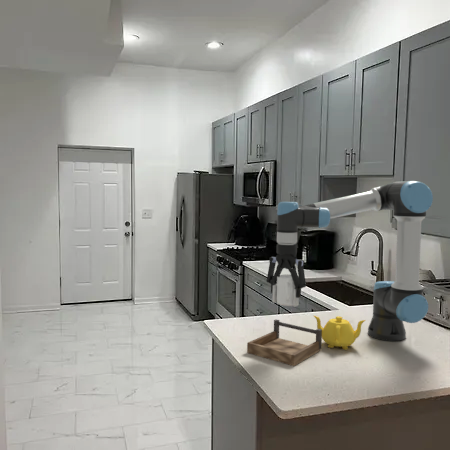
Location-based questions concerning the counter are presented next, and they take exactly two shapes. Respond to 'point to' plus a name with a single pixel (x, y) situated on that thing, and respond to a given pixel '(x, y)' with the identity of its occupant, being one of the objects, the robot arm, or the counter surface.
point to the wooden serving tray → (284, 346)
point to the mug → (285, 290)
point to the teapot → (339, 332)
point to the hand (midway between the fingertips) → (285, 303)
